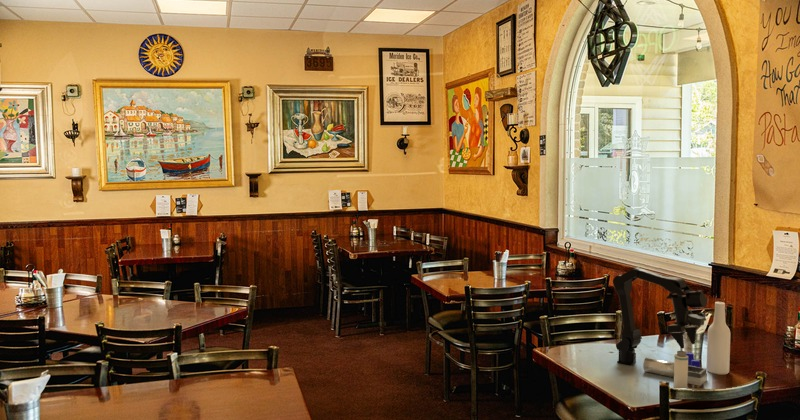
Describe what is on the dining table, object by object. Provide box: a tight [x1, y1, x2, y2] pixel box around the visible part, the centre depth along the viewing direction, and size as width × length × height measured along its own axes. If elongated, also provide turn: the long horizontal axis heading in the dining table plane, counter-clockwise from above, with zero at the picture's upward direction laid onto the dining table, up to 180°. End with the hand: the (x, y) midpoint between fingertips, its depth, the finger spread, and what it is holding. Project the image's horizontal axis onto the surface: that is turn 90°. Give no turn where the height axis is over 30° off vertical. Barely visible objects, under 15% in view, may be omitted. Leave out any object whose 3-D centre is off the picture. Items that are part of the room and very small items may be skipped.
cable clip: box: [686, 352, 701, 368], centre depth 286 cm, size 12×4×6 cm, turn 169°
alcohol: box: [705, 301, 731, 376], centre depth 282 cm, size 9×9×30 cm
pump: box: [673, 350, 688, 389], centre depth 263 cm, size 5×5×15 cm
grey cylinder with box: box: [642, 357, 708, 387], centre depth 277 cm, size 24×9×7 cm, turn 50°
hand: (688, 346), depth 275 cm, fingers open, 9 cm apart
